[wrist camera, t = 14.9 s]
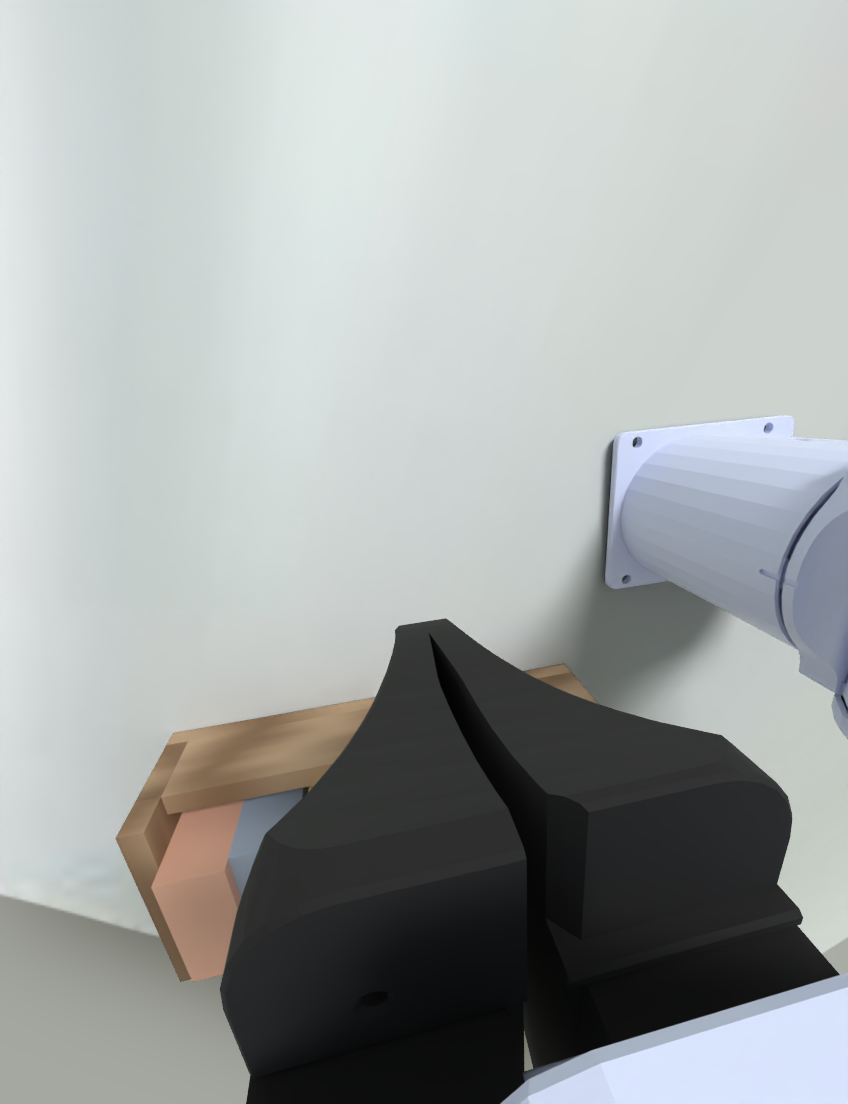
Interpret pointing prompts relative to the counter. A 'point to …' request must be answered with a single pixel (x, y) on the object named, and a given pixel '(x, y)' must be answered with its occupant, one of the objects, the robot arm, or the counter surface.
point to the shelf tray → (245, 776)
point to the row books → (213, 874)
